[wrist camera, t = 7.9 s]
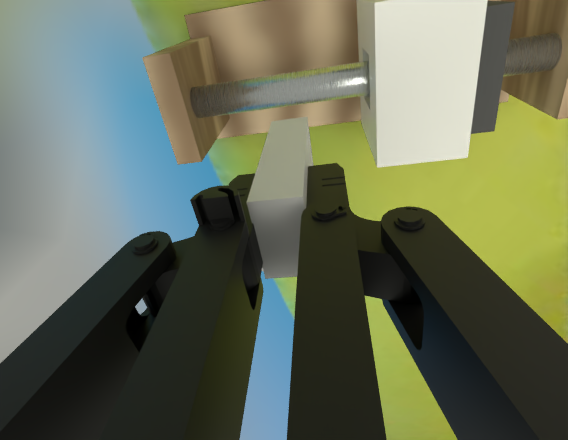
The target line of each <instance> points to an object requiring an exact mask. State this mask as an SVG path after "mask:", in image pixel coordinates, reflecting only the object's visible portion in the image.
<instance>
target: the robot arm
mask: <svg viewBox="0 0 568 440" xmlns="http://www.w3.org/2000/svg"><path fill="white" fill-rule="evenodd" d="M190 201H191V204H192V206H193V209H194V212H195V215H196V218H197V221H198V224H199V227H198V229H197V231H196V234H195V236H193V237H191V238H188V239H184V240H181V241H177V242H174V243H172V241H171V238H170V236H169V235H168V234H167V233H164V232H160V231H156V232H147V233H144V234H141V235H139V236H138V237H136V238H134V239H133V240H131V241H129V242H128V243H127V244H126V245H125V246H123V247H122V248H121V249H120V250H119V251H118V252H117V253H116V254H115V255H114V256H113V257H112V258H111V259H110V260H109V261H108V262H107V263H106V264H105V265H103V267H101V268H100V269H99V270H98V271H97V272H96V273H95V274H94V275H93V276H92V277H91V278H90V279H89V280H88V281H87V282H86V283H85V284H83V285H82V286H81V287H80V288H79V289H78V290H77V291H76V292H75V293H74V294H73V295H72V296H71V297H70V298H69V299H68V300H67V301H66V302H65V303H64V304H62V306H60V307H59V308H58V309H57V310H56V311H55V312H54V313H53V314H52V315H51V316H50V317H49V318H48V319H47V320H46V321H45V322H44V323H43V324H42V325H40V326H39V327H38V328H37V329H36V330H35V331H34V332H33V333H32V334H31V335H30V336H29V337H28V338H27V339H26V340H25V341H24V342H23V343H21V344H20V346H18V347H17V348H16V349H15V350H14V351H13V352H12V353H11V354H10V355H9V356H8V357H7V358H6V359H5V360H4V361H3V362H1V363H0V440H239V438H240V431H241V426H242V419H243V414H244V407H245V400H246V395H247V388H248V383H249V377H250V370H251V364H252V358H253V352H254V346H255V340H256V333H257V327H258V321H259V315H260V309H261V303H262V297H263V284H262V281H261V277H260V276H261V271H262V266H263V270H264V274H265V278H266V279H268V278H282V277H297V288H296V304H295V320H294V336H293V352H292V367H291V383H290V399H289V414H288V430H287V440H386V433H385V427H384V420H383V414H382V407H381V401H380V394H379V388H378V381H377V375H376V368H375V361H374V355H373V348H372V342H371V335H370V329H369V322H368V316H367V309H366V303H365V296H370V297H375V298H380V299H382V301H383V305H384V307H385V309H386V310H387V312H388V314H389V316H390V318H391V320H392V321H393V323H394V325H395V327H396V329H397V330H398V332H399V334H400V336H401V338H402V339H403V341H404V343H405V345H406V347H407V348H408V350H409V352H410V354H411V356H412V358H413V359H414V361H415V363H416V365H417V367H418V368H419V370H420V372H421V374H422V376H423V377H424V379H425V381H426V383H427V385H428V387H429V388H430V390H431V392H432V394H433V396H434V397H435V399H436V401H437V403H438V405H439V406H440V408H441V410H442V412H443V414H444V415H445V417H446V419H447V421H448V423H449V425H450V426H451V428H452V430H453V432H454V434H455V435H456V437H457V439H458V440H568V344H567V343H566V342H565V341H564V340H563V339H562V338H561V337H560V336H559V335H558V334H557V333H556V332H555V331H554V330H553V329H552V328H551V327H550V326H549V325H548V324H547V323H546V322H545V321H544V320H543V319H542V318H541V317H540V316H539V315H538V314H537V313H536V312H535V311H534V310H533V309H532V308H530V307H529V306H528V305H527V304H526V303H525V302H524V301H523V300H522V299H521V298H520V297H519V296H518V295H517V294H516V293H515V292H514V291H513V290H512V289H511V288H510V287H509V286H508V285H507V284H506V283H505V282H504V281H503V280H502V279H501V278H500V277H499V276H498V275H497V274H496V273H495V272H494V271H493V270H491V269H490V268H489V267H488V266H487V265H486V264H485V263H484V262H483V261H482V260H481V259H480V258H479V257H478V256H477V255H476V254H475V253H474V252H473V251H472V250H471V249H470V248H469V247H468V246H467V245H466V244H465V243H464V242H463V241H462V240H461V239H460V238H459V237H458V236H457V235H456V234H455V233H454V232H452V231H451V230H450V229H449V228H448V227H447V226H446V225H445V224H444V223H443V222H442V221H441V220H440V219H439V218H438V217H437V216H436V215H435V214H433V213H432V212H430V211H428V210H425V209H422V208H418V207H400V208H396V209H393V210H390V211H388V212H387V213H386V214H384V215H383V217H382V220H381V221H372V220H367V219H363V218H360V217H358V216H357V215H355V214H354V213H353V212H352V211H351V210H350V207H349V202H348V195H347V189H346V182H345V176H344V169H343V168H342V167H340V166H339V165H338V164H337V163H333V164H324V165H316V166H313V158H312V150H311V142H310V134H309V126H308V118H307V117H301V118H293V119H286V120H278V121H272V122H271V125H270V128H269V131H268V135H267V138H266V141H265V144H264V148H263V151H262V154H261V157H260V160H259V164H258V167H257V170H256V173H254V174H246V175H238V176H237V177H236V178H235V179H233V180H232V181H231V182H230V183H229V186H216V187H211V188H208V189H206V190H203V191H201V192H199V193H198V194H196V195H195V196H194V197H193V198H192V199H191V200H190ZM364 295H365V296H364ZM142 298H143V300H144V302H145V304H146V306H147V309H146V310H145V311H144V312H143V313H142V314H141V315H140V314H139V313H138V311H137V310H136V308H135V306H136V305H137V303H138V302H139V301H140V300H141V299H142Z"/></svg>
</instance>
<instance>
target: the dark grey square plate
mask: <svg viewBox="0 0 568 440" xmlns="http://www.w3.org/2000/svg"><path fill="white" fill-rule="evenodd" d="M514 7H515V2H507V1H487V9H486V17H485V25H484V33H483V41H482V48H481V56H480V64H479V72H478V80H477V88H476V96H475V104H474V111H473V119H472V127H471V134H473V133H482V132H490V131H494V130H495V124H496V118H497V112H498V105H499V99H500V93H501V87H502V81H503V75H504V68H505V62H506V56H507V50H508V44H509V38H510V31H511V25H512V19H513V13H514Z"/></svg>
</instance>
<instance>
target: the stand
mask: <svg viewBox="0 0 568 440" xmlns="http://www.w3.org/2000/svg"><path fill="white" fill-rule="evenodd" d="M488 1H507V2H515V7H514V13H513V19H512V25H511V31H510V38H509V39H516V38H522V37H529V36H536V35H542V34H549V33H557V34H558V35H559V36H560V38H561V41H562V52H561V57H560V60H559V62H558V64H557V65H556V66H555V68H553V69H552V70H549V71H541V72H534V73H527V74H519V75H512V76H505V77H503V81H502V87H501V93H500V99H499V103H501V102H508V97H509V94H510V95H512V96H514V97H516V98H518V99H520V100H522V101H523V102H525V103H527V104H529V105H531V106H533V107H535V108H537V109H539V110H541V111H542V112H544V113H546V114H548V115H550V116H552V117H554V118H556V119H564V118H568V0H488ZM184 16H185V20H186V23H187V27H188V31H189V35H190V39H189V40H187V41H184V42H182V43H179V44H176V45H174V46H171V47H169V48H166V49H163V50H161V51H158V52H156V53H153V54H151V55H148V56H145V57H143V61H144V64H145V67H146V70H147V73H148V76H149V79H150V82H151V85H152V88H153V91H154V94H155V97H156V100H157V103H158V106H159V109H160V112H161V115H162V118H163V121H164V124H165V127H166V130H167V133H168V136H169V139H170V142H171V145H172V148H173V151H174V154H175V157H176V160H177V163H178V164H186V163H194V162H202V160H203V159H204V157H205V156H206V154H207V153H208V151H209V150H210V148H211V147H212V145H213V143H214V142H215V140H216V139H218V138H226V137H234V136H242V135H250V134H258V133H265V132H268V131H269V128H270V125H271V122H272V121H278V120H286V119H293V118H301V117H307V118H308V126H309V127H312V126H320V125H328V124H336V123H344V122H352V121H360V120H361V102H360V96H359V97H351V98H344V99H337V100H329V101H322V102H315V103H307V104H300V105H293V106H286V107H278V108H271V109H264V110H256V111H249V112H242V113H234V114H227V115H220V116H212V117H205V118H197V117H196V115H195V114H194V112H193V109H192V106H191V101H190V90H191V88H192V87H196V86H203V85H209V84H216V83H223V82H229V81H236V80H243V79H249V78H256V77H263V76H269V75H276V74H282V73H289V72H296V71H302V70H309V69H316V68H322V67H329V66H336V65H342V64H349V63H356V62H359V50H358V24H357V0H266V1H261V2H255V3H250V4H244V5H238V6H233V7H227V8H222V9H216V10H211V11H205V12H200V13H194V14H189V15H184Z"/></svg>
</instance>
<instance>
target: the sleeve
mask: <svg viewBox="0 0 568 440" xmlns="http://www.w3.org/2000/svg"><path fill="white" fill-rule="evenodd" d="M487 1H488V0H357V24H358V50H359V62H362V61H369V79H370V95H366V96H360V102H361V124H362V127H363V129H364V132H365V135H366V138H367V140H368V143H369V146H370V149H371V151H372V154H373V157H374V160H375V163H376V165H377V167H386V166H395V165H405V164H414V163H423V162H432V161H441V160H451V159H460V158H468V151H469V143H470V135H471V127H472V119H473V111H474V104H475V96H476V88H477V80H478V72H479V64H480V56H481V48H482V41H483V33H484V25H485V17H486V9H487Z"/></svg>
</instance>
